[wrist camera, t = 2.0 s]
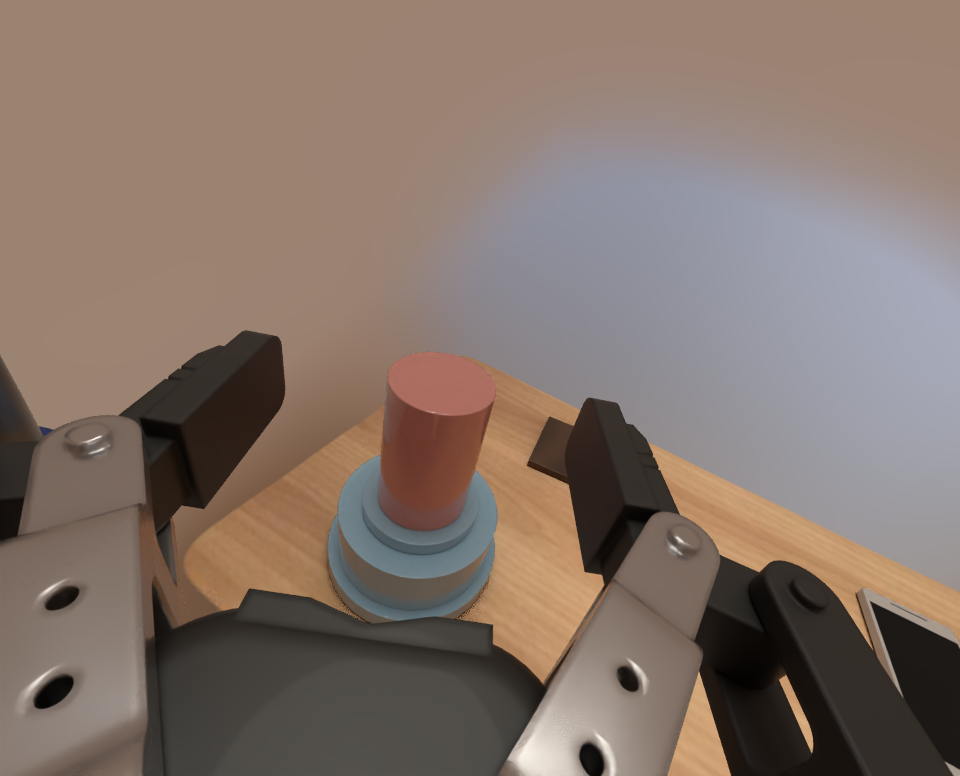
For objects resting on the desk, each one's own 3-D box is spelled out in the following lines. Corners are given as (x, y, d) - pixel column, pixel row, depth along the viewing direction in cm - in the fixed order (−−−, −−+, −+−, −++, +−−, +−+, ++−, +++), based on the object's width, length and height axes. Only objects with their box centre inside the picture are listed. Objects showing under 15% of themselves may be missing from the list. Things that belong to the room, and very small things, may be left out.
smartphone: (917, 784, 26) (929, 780, 26) (854, 590, 38) (862, 584, 38) (1057, 866, 24) (1073, 863, 24) (944, 634, 36) (953, 629, 36)
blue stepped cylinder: (288, 575, 29) (281, 518, 26) (389, 464, 40) (394, 412, 36) (448, 669, 26) (466, 620, 23) (511, 524, 37) (531, 473, 33)
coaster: (526, 465, 43) (528, 460, 43) (547, 421, 51) (549, 416, 50) (608, 501, 42) (611, 496, 41) (618, 450, 49) (620, 445, 48)
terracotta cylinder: (358, 504, 27) (364, 384, 22) (407, 449, 33) (422, 341, 27) (441, 547, 26) (470, 431, 20) (479, 483, 31) (511, 376, 26)
